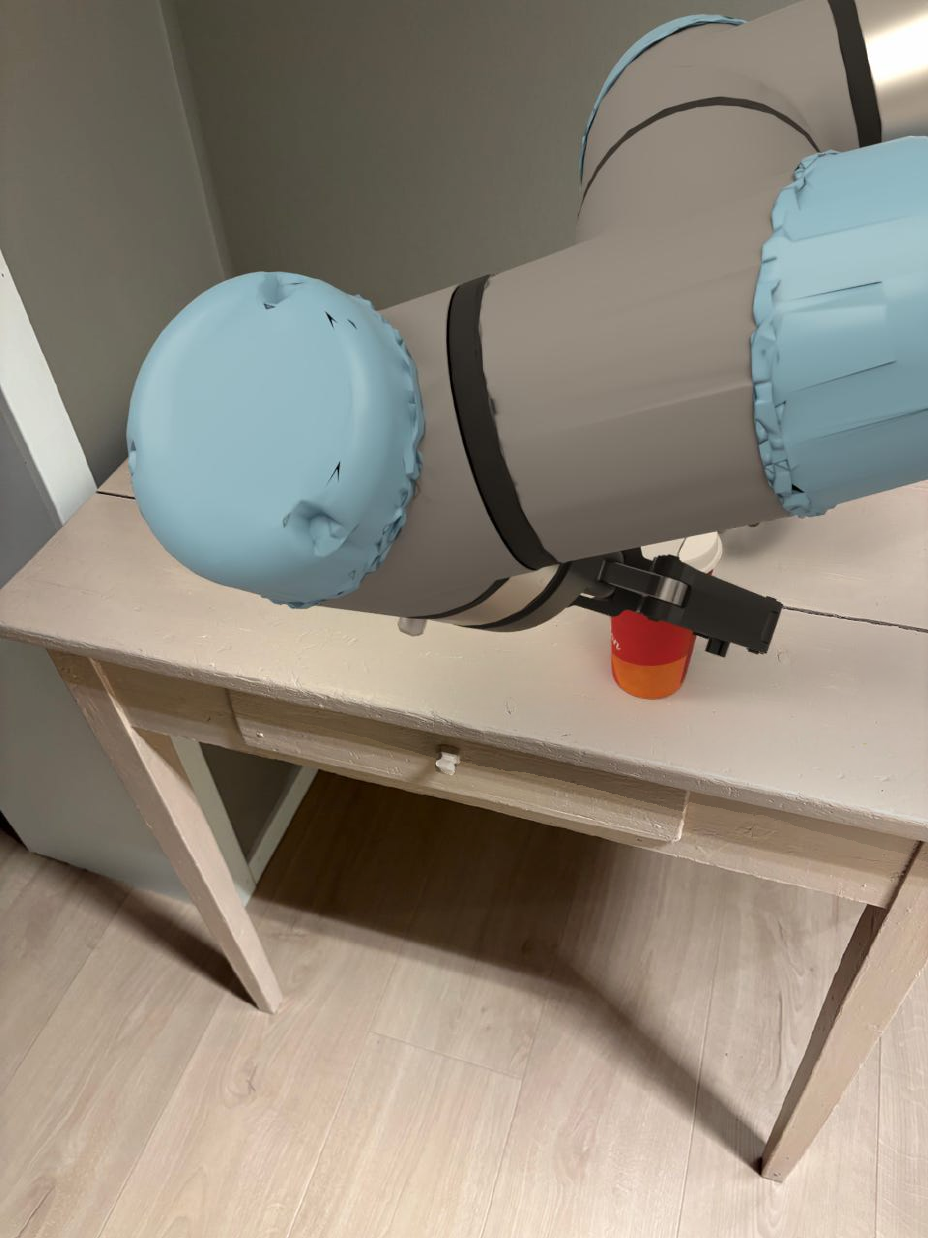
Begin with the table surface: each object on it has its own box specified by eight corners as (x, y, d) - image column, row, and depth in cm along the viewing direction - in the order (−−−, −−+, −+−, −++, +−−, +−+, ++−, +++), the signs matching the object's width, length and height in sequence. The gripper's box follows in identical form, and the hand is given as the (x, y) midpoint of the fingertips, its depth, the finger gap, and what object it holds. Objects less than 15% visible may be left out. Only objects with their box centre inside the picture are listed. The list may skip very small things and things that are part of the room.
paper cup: (639, 622, 77) (654, 480, 67) (719, 670, 73) (748, 526, 63) (575, 675, 73) (582, 532, 64) (656, 728, 69) (676, 585, 60)
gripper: (187, 533, 40) (403, 582, 60) (781, 740, 31) (806, 718, 51) (238, 360, 40) (439, 467, 59) (857, 518, 31) (853, 583, 50)
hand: (608, 583), depth 55 cm, fingers open, 13 cm apart
